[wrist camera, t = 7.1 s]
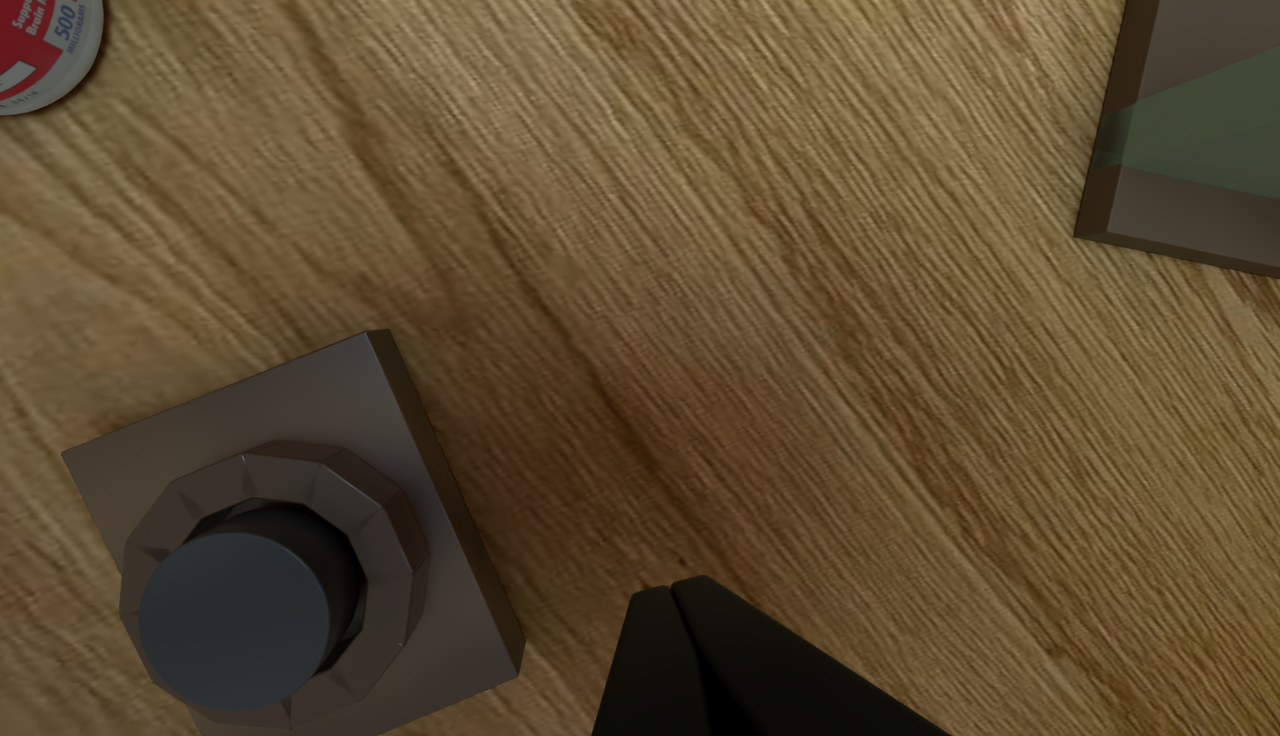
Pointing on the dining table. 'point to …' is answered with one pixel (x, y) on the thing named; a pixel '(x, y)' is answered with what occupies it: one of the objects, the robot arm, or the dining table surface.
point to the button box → (341, 500)
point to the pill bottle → (45, 50)
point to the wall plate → (1191, 136)
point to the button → (248, 609)
